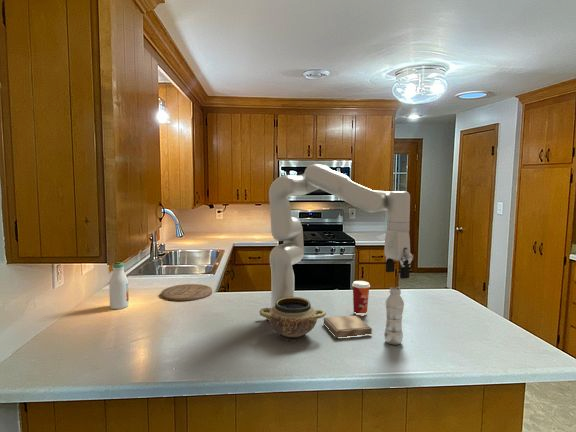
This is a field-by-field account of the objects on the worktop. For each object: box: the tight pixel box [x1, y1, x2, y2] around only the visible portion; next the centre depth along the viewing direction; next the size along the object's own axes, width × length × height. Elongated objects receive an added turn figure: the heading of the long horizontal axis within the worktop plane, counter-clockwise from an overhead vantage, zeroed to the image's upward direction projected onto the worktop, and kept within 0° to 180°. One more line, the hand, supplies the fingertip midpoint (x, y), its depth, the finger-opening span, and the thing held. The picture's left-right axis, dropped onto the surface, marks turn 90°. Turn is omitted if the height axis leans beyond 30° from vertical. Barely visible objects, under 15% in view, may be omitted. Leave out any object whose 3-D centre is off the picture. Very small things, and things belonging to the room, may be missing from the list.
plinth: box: [323, 314, 373, 338], centre depth 141 cm, size 14×14×3 cm
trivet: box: [160, 283, 213, 302], centre depth 186 cm, size 25×25×2 cm
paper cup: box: [351, 280, 371, 313], centre depth 159 cm, size 8×8×14 cm
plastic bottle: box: [383, 286, 405, 346], centre depth 129 cm, size 6×7×20 cm
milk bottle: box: [108, 262, 130, 310], centre depth 164 cm, size 8×8×20 cm
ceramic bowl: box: [259, 296, 327, 341], centre depth 135 cm, size 24×18×15 cm
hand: (397, 274), depth 128 cm, fingers open, 9 cm apart
